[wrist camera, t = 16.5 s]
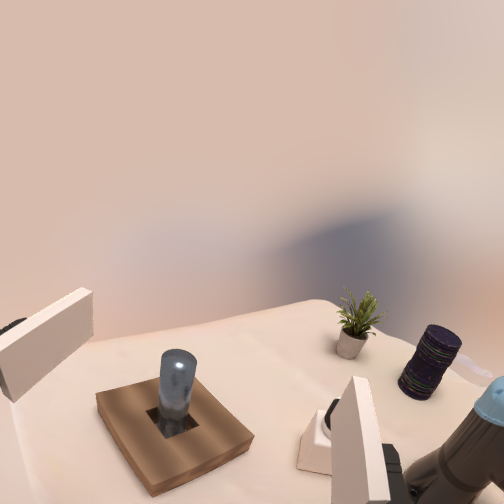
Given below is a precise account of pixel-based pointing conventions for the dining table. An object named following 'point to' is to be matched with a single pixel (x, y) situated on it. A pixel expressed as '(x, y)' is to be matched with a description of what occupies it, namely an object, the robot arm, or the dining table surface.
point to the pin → (175, 391)
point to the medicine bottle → (317, 443)
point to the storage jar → (429, 362)
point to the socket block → (174, 448)
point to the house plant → (355, 328)
